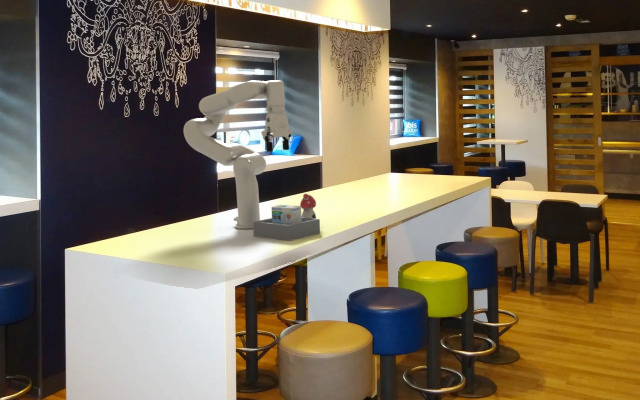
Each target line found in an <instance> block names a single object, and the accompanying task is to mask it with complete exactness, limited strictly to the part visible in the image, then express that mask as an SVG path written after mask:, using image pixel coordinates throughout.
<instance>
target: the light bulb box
mask: <svg viewBox="0 0 640 400" xmlns="http://www.w3.org/2000/svg"><path fill="white" fill-rule="evenodd" d="M301 216H302V208H301V206H300V205H290V204H288V205H287V204H279V205H275V206H271V218H272V223H273V224H282V225H292V224H296V223H301V222H302V218H301Z"/></svg>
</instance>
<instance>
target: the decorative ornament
mask: <svg viewBox="0 0 640 400" xmlns="http://www.w3.org/2000/svg"><path fill="white" fill-rule="evenodd" d="M299 206H301V210H302V212H301V217H305V218H315V219H317V216H316V213H315V210H314V208H316V207H317V201H316V199H315V198H314V197H313V196H312V195H310V194H309V193H303V195H302V199H301V201H300V204H299Z"/></svg>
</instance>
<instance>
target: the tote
mask: <svg viewBox="0 0 640 400" xmlns="http://www.w3.org/2000/svg"><path fill="white" fill-rule="evenodd" d="M301 218H302V222H301V223H296V224H292V225H282V224H273V223H272V217H270V218H266V219H260V220H259V221H254V222H253V226H254V228H253V237H255V238H256V237H258V238H263V239H264V238H265V239H274V240H278V241H288V242H290V241H294V240H299V239H303V238H306V237H307V238H308V237H311V236H316V235H320V234H321V219H320V218H316V219H315V218H305V217H301Z"/></svg>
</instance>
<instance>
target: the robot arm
mask: <svg viewBox="0 0 640 400" xmlns="http://www.w3.org/2000/svg"><path fill="white" fill-rule="evenodd" d="M263 99H266V108H265V110H266V112H267V114H266V116H265V129H263V130H262V131H260V132H261V135H262V136H261V137H262V139H263V140H264V142H265V144H266V148H265V149H266V152H269V153H271V152H273V151H274V145H273V139H274V138H282V150H283V151H289V150H290V143H289V142H290V140H291V137H292V133H293V130H292V129H291V128H290V125H289V118H288V115H287V113H286V105H285V103H286V101H285V85H284V82H283V81H282V80H276V79H275V80H267V81H264V80H262V81H261V80H248V81H245V82H241V83H239V84H236V85H234V86H232V87H230V88H227V89H225V90H222V91H220V92H217V93H214V94H210V95H207V96H205V97H202V99H201V100H200V101H199V103H198V109H199V111H200V113H202V114H203V115H204V117H203V118H202V117H200V118H192V119H190V120H188V121H186V122H185V124H184V126H183V135H184V138H185V141H186V142H187V144H188V145H189V146H190V147H191V148H192V149H193V150H194V151H196V152H198V153H201V154H203V156H206V157H208V158H210V159H211V160H213V161H215V162H218V164H221V165H223V166H226V167H230V166H231V167H232V170H233V174H234V179H235V187H236V188H235V189H236V203H237V205H236V206H237V216H236V217H234V218H233V221H234V222H237V223H235V225H234V227H235V229H240V230H244V229H245V230H246V229H248V230H250V229H251V230H252V229H254V226H253V222H254V221H259V220H261V218H260V217H261V214H260V213H261V212H260V197H259V195H260V193H259V183H258V180H257V177H256V176H257V175H260V174H263V173H264V171H265V170H266V168H267V162H266V159H265V157H264V156H263V155H262V154H260V153H258V152H256V151H255V150H252V149H251V148H249V147H247V146H245V145H242V144H240V143H224V142H222V141H219V140H218V139H217V138H214V137H212V136H214V135H215V134H216V132H217V130H218V129H219V127H220V125H221V123H222V121H223V119H224V117H225V116H226V113H227V111H230V110H233V109H235V108H237V105H238V104H241V103H243V102H246V101H249V100H263Z"/></svg>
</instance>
